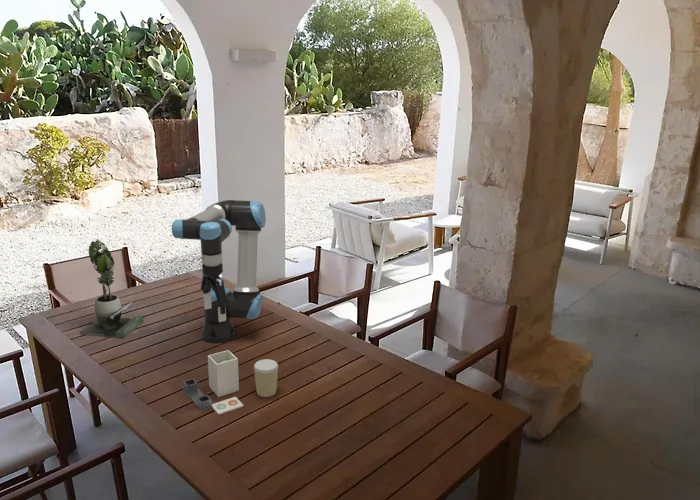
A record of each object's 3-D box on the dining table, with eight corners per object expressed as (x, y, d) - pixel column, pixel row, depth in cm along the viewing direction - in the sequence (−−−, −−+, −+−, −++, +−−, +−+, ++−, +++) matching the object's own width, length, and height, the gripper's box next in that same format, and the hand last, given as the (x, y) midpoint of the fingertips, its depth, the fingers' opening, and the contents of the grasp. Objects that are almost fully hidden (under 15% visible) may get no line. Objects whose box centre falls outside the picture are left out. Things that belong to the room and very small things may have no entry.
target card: (235, 397, 220) (235, 396, 220) (243, 406, 215) (243, 404, 215) (211, 406, 215) (210, 404, 215) (218, 414, 209) (218, 413, 209)
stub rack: (194, 384, 229) (193, 377, 228) (213, 406, 214) (212, 399, 213) (182, 388, 226) (181, 381, 225) (200, 411, 212) (200, 403, 211)
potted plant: (143, 321, 283) (135, 234, 270) (123, 338, 265) (114, 246, 252) (102, 318, 286) (92, 231, 273) (80, 334, 268) (68, 242, 255)
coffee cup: (282, 388, 228) (282, 361, 224) (271, 400, 220) (271, 372, 216) (261, 383, 231) (260, 357, 227) (250, 395, 222) (249, 367, 219)
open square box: (229, 380, 232) (228, 349, 228) (238, 390, 226) (237, 358, 221) (209, 387, 227) (207, 355, 223) (218, 397, 221) (216, 364, 216)
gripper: (190, 255, 223) (193, 305, 230) (216, 275, 204) (219, 329, 211) (208, 252, 228) (211, 301, 234) (235, 271, 209) (238, 324, 215)
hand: (215, 314), depth 223 cm, fingers open, 13 cm apart
